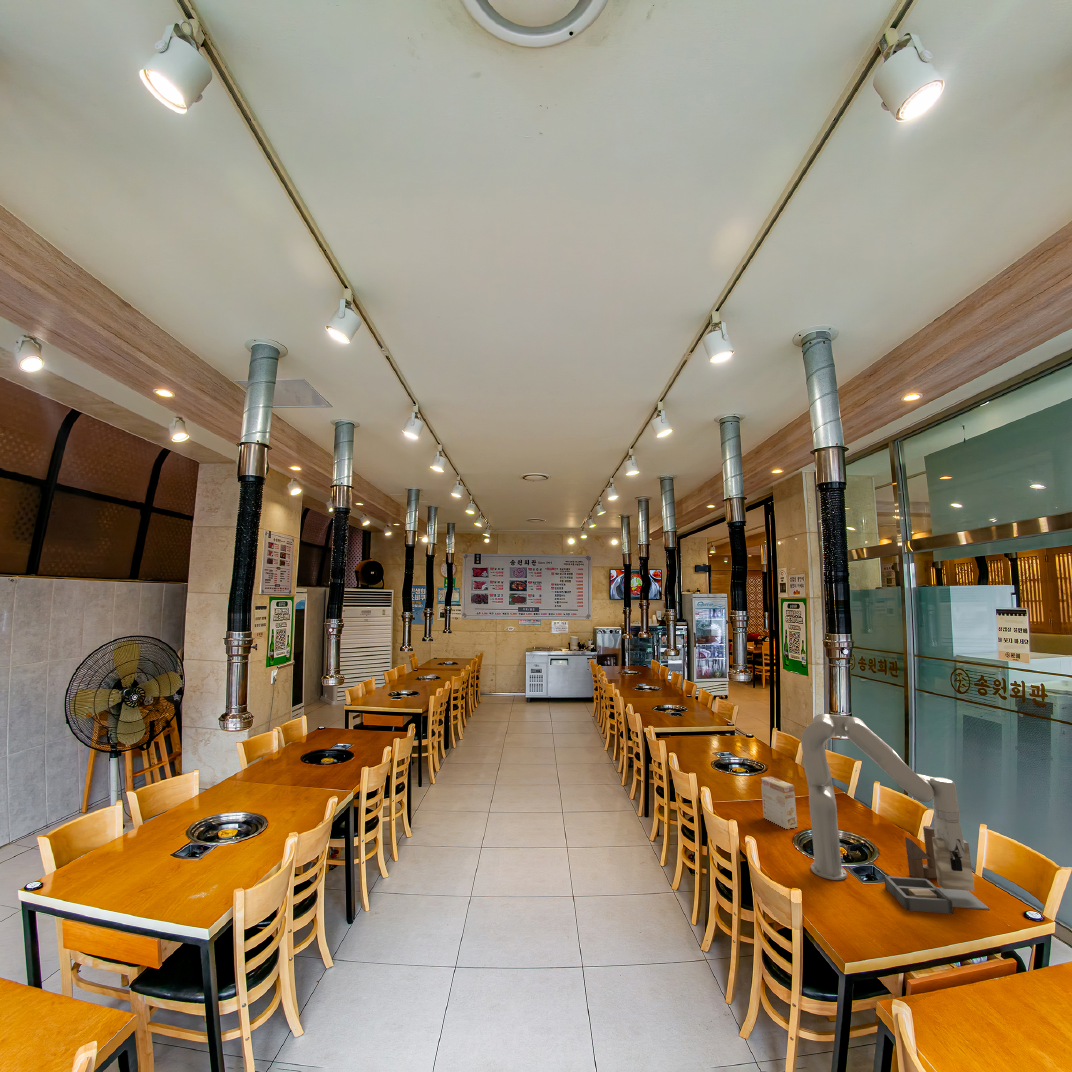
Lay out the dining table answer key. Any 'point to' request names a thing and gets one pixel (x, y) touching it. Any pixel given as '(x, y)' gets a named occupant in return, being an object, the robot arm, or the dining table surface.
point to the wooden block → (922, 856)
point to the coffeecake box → (779, 802)
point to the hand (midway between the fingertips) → (953, 867)
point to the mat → (963, 899)
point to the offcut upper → (922, 893)
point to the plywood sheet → (945, 872)
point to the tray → (901, 893)
